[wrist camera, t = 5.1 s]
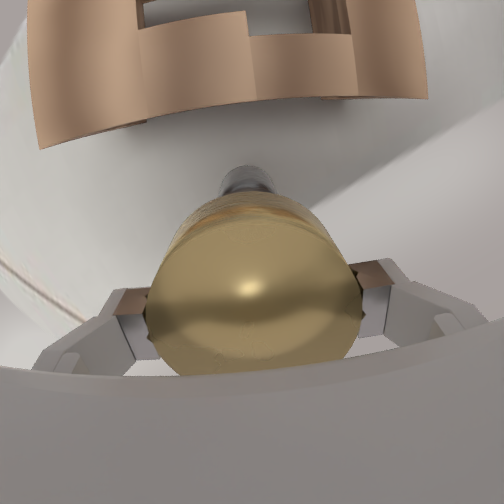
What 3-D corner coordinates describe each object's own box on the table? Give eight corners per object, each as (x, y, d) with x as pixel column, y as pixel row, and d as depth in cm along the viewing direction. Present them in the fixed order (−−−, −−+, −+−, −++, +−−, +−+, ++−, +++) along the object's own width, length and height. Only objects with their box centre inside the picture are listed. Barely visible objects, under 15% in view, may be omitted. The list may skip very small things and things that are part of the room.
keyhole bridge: (330, -8, 22) (393, -73, 9) (345, 99, 27) (428, 99, 14) (110, 21, 22) (29, -22, 9) (123, 127, 28) (39, 149, 14)
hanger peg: (287, 143, 20) (368, 213, 7) (294, 227, 22) (352, 383, 10) (196, 154, 20) (117, 243, 7) (210, 237, 22) (177, 401, 10)
